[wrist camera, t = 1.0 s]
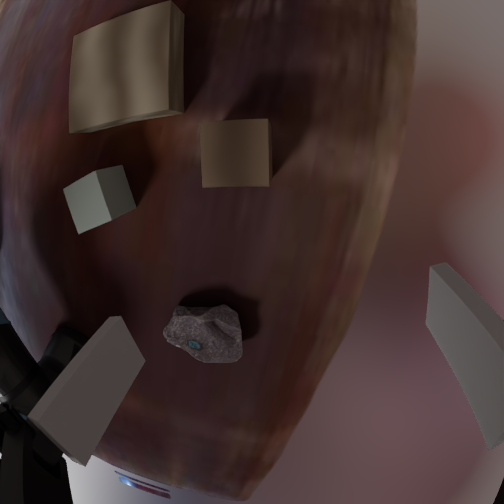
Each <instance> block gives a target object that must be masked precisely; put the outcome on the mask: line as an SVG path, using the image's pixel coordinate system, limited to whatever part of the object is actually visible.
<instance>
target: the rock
mask: <svg viewBox="0 0 504 504" xmlns="http://www.w3.org/2000/svg"><path fill="white" fill-rule="evenodd" d="M163 334H164V336H165V337H166V339H167V341H168V342H169V343H171V344H173V345H175V346H177V347H180V348H183V349H184V351H187V352H189V353H190V354H191V356H193V357H194V358H195V359H198V360H200V361H203V362H205V363H212V362H216V363H228V362H235V361H237V360H238V359H239V358H240V357H241V356H242V335H241V327H240V323H239V318H238V313H237V312H235V310H233V309H231V308H230V307H228V306H227V305H225V304H223V305H220V306H216V307H185V306H179V305H177V306H176V308H175V310H174V312H173V316H172V318H171V319H170V321H169V322H168V323H167V325H166V326H165V328H164V330H163Z"/></svg>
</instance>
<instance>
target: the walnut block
mask: <svg viewBox="0 0 504 504" xmlns="http://www.w3.org/2000/svg"><path fill="white" fill-rule="evenodd" d="M200 145H201V167H202V185H203V187H236V186H269V185H270V183H271V180H272V178H273V173H272V125H271V123H270V121H269V120H268V119H241V120H224V121H211V122H200Z"/></svg>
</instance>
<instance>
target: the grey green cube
mask: <svg viewBox="0 0 504 504" xmlns="http://www.w3.org/2000/svg"><path fill="white" fill-rule="evenodd" d="M63 191H64V194H65V197H66V200H67V203H68V206H69V209H70V212H71V215H72V218H73V221H74V223H75V226H76V229H77V231H78V234H80V233H82V232H85V231H87V230H89V229H92V228H94V227H97V226H99V225H101V224H104V223H106V222H109V221H111V220H113V219H115V218H117V217H119V216H121V215H123V214H125V213H127V212H129V211H131V210H133V209H135V208H136V205H135V202H134V199H133V196H132V193H131V190H130V187H129V184H128V181H127V178H126V175H125V172H124V169H123V165H119V166H114V167H109V168H105V169H100V170H95V171H93V172H92V173H90V174H88V175H86V176H85V177H83V178H81V179H79V180H78V181H76V182H74V183H73V184H71V185H69V186H68V187H66V188H64V189H63Z"/></svg>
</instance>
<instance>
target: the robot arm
mask: <svg viewBox="0 0 504 504" xmlns="http://www.w3.org/2000/svg"><path fill="white" fill-rule="evenodd" d="M426 326H427V327H428V329H429V331H430V332H431V334H432V336H433V337H434V339H435V340H436V342H437V344H438V346H439V347H440V349H441V351H442V353H443V354H444V356H445V358H446V360H447V362H448V363H449V365H450V367H451V369H452V371H453V373H454V375H455V377H456V378H457V380H458V382H459V384H460V386H461V388H462V390H463V392H464V394H465V396H466V398H467V400H468V402H469V405H470V407H471V409H472V411H473V413H474V416H475V418H476V420H477V422H478V425H479V427H480V429H481V432H482V434H483V437H484V439H485V442H486V444H487V447H488V450H491V449H493V448H494V447H496V446H498V445H500V444H501V443H503V442H504V320H503V319H502V318H501V317H500V316H499V315H498V314H497V313H496V312H495V311H494V309H492V307H491V306H490V305H489V304H488V303H487V302H486V301H485V300H484V299H483V298H482V297H481V296H480V295H479V294H478V293H477V292H476V291H475V290H474V289H473V288H472V287H471V286H470V285H469V284H468V283H467V282H466V281H465V280H464V279H463V278H462V277H461V276H460V275H459V274H458V273H457V272H456V271H455V270H453V269H452V268H451V267H450V266H449V265H448V264H447V263H446V262H445V263H441V264H437V265H433V266H430V277H429V293H428V306H427V315H426ZM144 363H145V360H144V358H143V356H142V354H141V353H140V351H139V349H138V347H137V345H136V344H135V342H134V340H133V338H132V336H131V334H130V332H129V331H128V329H127V327H126V325H125V323H124V321H123V319H122V317H121V316H114V317H109V318H108V319H107V320H106V321H105V322H104V324H103V325H102V326H101V327H100V328H99V329H98V330H97V331H96V333H95V334H94V335H93V336H92V337H91V338H90V339H89V340H88V339H87V338H86V337H84V336H83V335H81V334H80V333H78V332H77V331H75V330H72V329H70V328H65V327H62V328H59V329H57V330H56V331H55V332H54V333H53V334H52V335H51V337H50V339H49V343H48V345H47V347H46V349H45V351H44V354H43V356H42V358H41V360H40V361H39V362H38V363H37V362H36V361H35V360H34V358H33V357H32V355H31V354H30V353H29V351H28V350H27V348H26V347H25V345H24V344H23V342H22V341H21V339H20V338H19V336H18V335H17V333H16V331H15V330H14V328H13V326H12V325H11V322H10V321H9V320H8V319H7V317H6V316H5V314H4V312H3V311H2V309H1V308H0V402H1V404H0V453H1V454H2V456H1V459H0V504H73V501H72V495H71V490H70V484H69V478H68V471H67V465H66V464H67V463H66V460H65V459H64V458H63V457H62V455H63V453H64V454H65V455H67V456H68V457H69V458H70V459H71V460H72V461H74V462H76V463H79V464H81V465H83V466H86V465H87V463H88V461H89V459H90V457H91V455H92V454H93V452H94V450H95V448H96V446H97V444H98V442H99V441H100V439H101V437H102V435H103V433H104V432H105V430H106V428H107V426H108V424H109V423H110V421H111V419H112V417H113V416H114V414H115V412H116V410H117V409H118V407H119V405H120V403H121V402H122V400H123V398H124V396H125V395H126V393H127V391H128V390H129V388H130V386H131V384H132V383H133V381H134V379H135V378H136V376H137V374H138V373H139V371H140V369H141V368H142V366H143V364H144ZM493 504H504V479H503V481H502V484H501V486H500V489H499V492H498V494H497V496H496V498H495V501H494V503H493Z"/></svg>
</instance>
